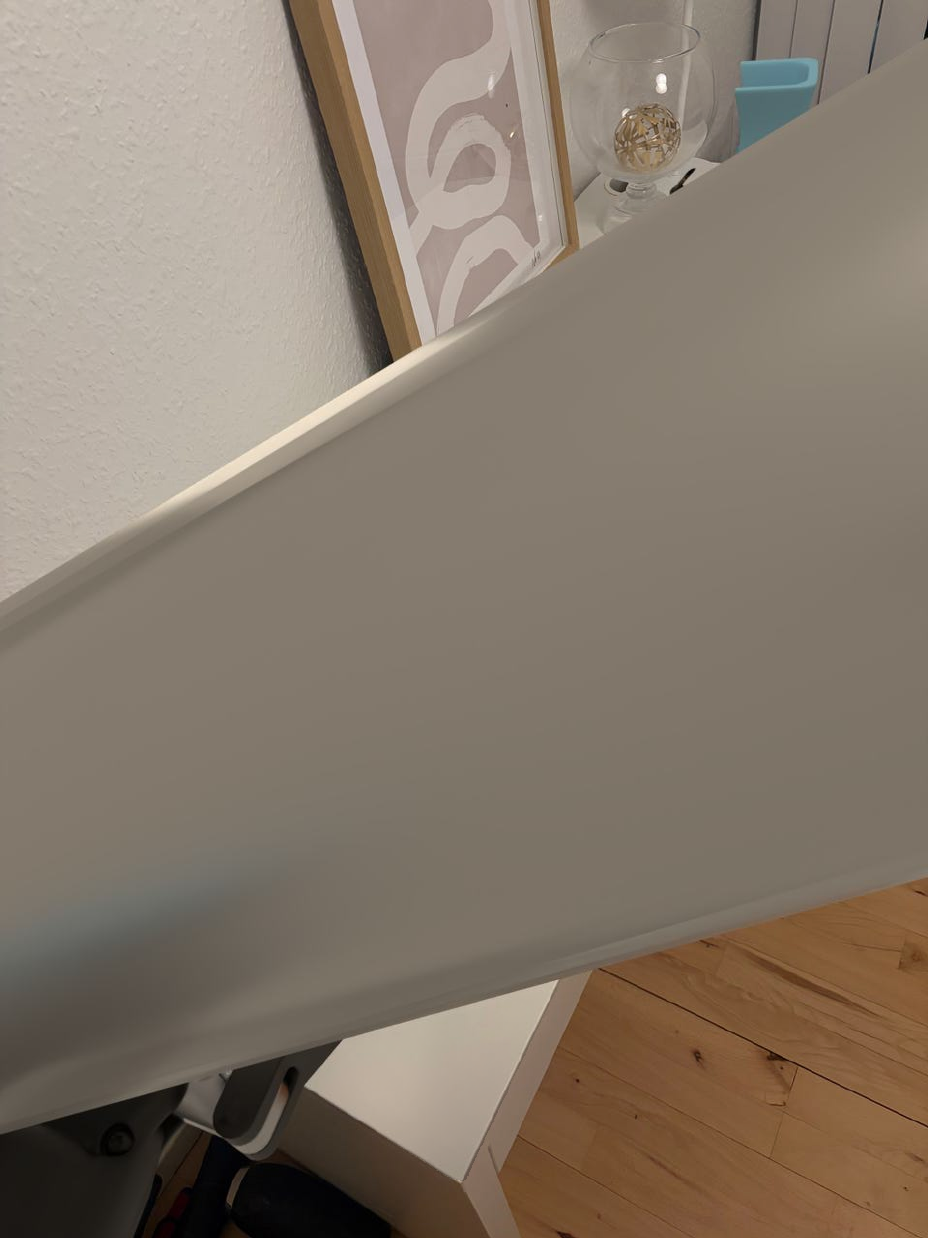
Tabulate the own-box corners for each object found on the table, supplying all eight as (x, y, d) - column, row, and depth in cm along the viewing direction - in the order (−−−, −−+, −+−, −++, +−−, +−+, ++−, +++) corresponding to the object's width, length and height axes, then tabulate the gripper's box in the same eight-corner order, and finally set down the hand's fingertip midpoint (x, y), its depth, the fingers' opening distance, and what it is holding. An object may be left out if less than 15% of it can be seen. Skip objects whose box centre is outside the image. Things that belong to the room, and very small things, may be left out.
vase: (727, 243, 113) (740, 60, 99) (796, 243, 111) (819, 56, 96) (721, 277, 108) (733, 90, 94) (793, 277, 106) (817, 86, 91)
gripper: (-298, 1207, 31) (40, 690, 44) (434, 1450, 24) (571, 756, 37) (-506, 1149, 25) (-47, 578, 38) (370, 1445, 18) (558, 632, 32)
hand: (259, 665), depth 38 cm, fingers open, 13 cm apart
